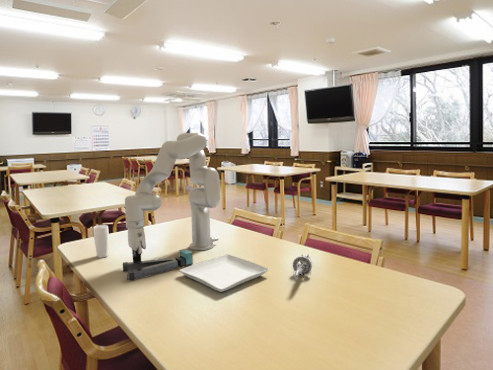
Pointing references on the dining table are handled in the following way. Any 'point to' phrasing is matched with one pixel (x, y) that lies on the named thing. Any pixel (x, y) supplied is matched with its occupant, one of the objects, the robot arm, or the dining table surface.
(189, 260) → the teal rectangular block
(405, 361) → the dining table surface
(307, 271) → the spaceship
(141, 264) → the bar
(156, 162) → the robot arm
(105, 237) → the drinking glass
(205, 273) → the square plate
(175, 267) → the tongs frame
